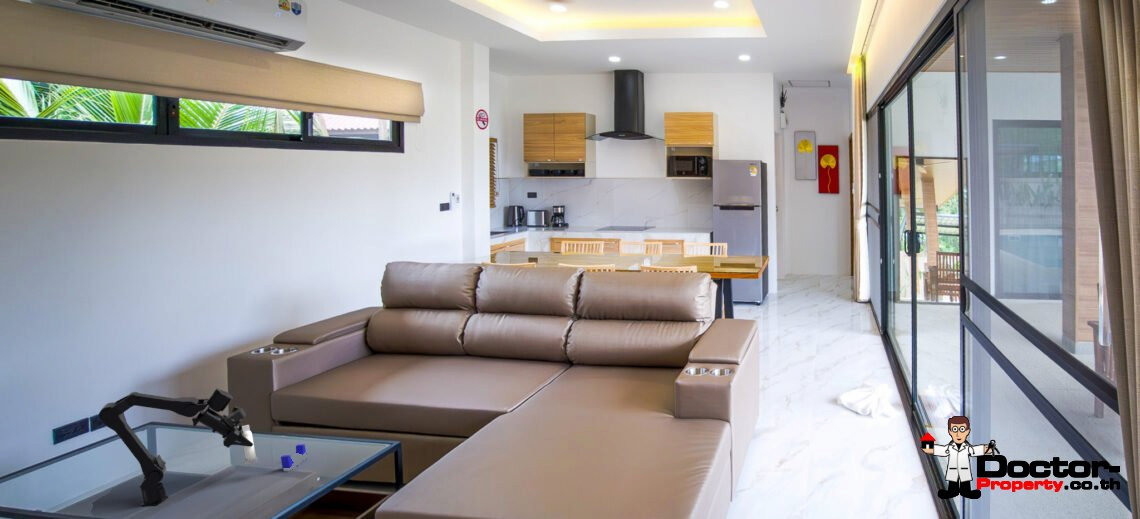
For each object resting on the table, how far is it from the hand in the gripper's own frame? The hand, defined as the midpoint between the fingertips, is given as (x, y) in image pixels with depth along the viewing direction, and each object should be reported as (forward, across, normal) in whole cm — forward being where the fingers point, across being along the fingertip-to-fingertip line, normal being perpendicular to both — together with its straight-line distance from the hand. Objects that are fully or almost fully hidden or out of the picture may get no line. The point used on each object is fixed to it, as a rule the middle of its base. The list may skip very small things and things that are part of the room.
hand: (252, 443), depth 286 cm
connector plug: (+4, 0, +6) cm, 7 cm away
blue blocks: (+19, +6, +1) cm, 20 cm away
